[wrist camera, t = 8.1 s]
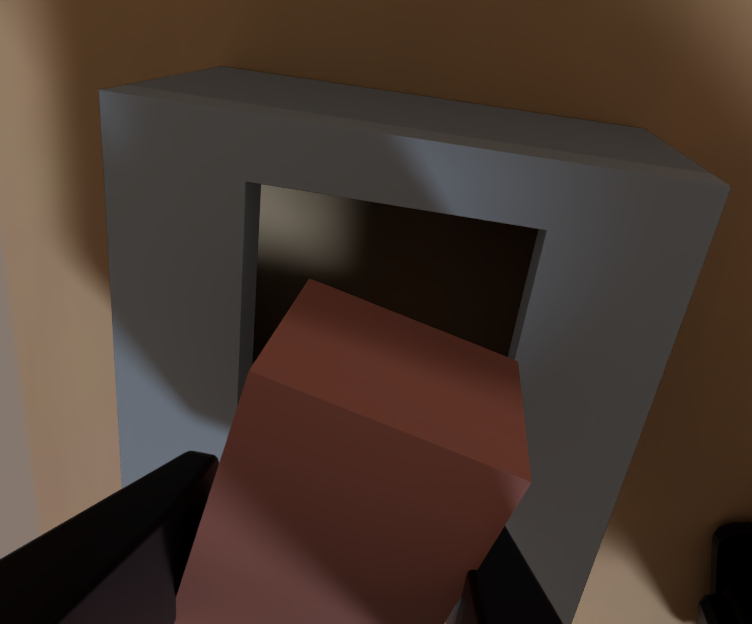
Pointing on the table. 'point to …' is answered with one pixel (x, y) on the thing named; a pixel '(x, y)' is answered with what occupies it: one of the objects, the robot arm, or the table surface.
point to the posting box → (418, 191)
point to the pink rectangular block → (357, 473)
